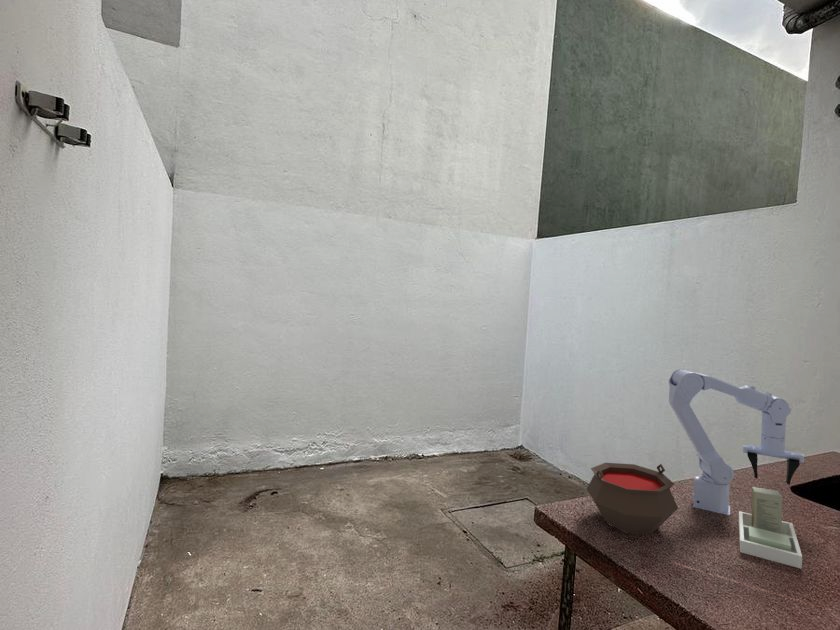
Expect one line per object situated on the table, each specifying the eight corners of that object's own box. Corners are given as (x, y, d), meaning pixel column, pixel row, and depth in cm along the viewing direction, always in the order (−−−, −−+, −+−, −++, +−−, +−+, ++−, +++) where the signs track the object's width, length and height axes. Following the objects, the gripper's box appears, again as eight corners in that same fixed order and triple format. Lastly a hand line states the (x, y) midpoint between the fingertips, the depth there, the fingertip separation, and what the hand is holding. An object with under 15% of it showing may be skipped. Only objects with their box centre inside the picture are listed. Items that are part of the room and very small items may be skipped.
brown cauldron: (623, 550, 114) (625, 487, 114) (568, 508, 137) (570, 455, 137) (698, 538, 121) (700, 478, 120) (633, 500, 144) (635, 450, 143)
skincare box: (778, 534, 122) (780, 490, 122) (782, 541, 119) (783, 496, 118) (749, 528, 126) (751, 485, 125) (752, 535, 122) (753, 491, 121)
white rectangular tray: (739, 553, 113) (740, 540, 113) (738, 522, 130) (738, 511, 130) (801, 570, 106) (802, 556, 106) (791, 535, 123) (792, 523, 123)
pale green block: (748, 550, 114) (749, 535, 114) (748, 540, 119) (748, 526, 119) (790, 561, 109) (791, 546, 109) (787, 550, 114) (788, 535, 114)
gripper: (802, 437, 134) (801, 481, 135) (743, 428, 143) (742, 470, 143) (805, 442, 129) (804, 489, 129) (743, 434, 137) (742, 477, 137)
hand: (771, 480), depth 136 cm, fingers open, 7 cm apart
